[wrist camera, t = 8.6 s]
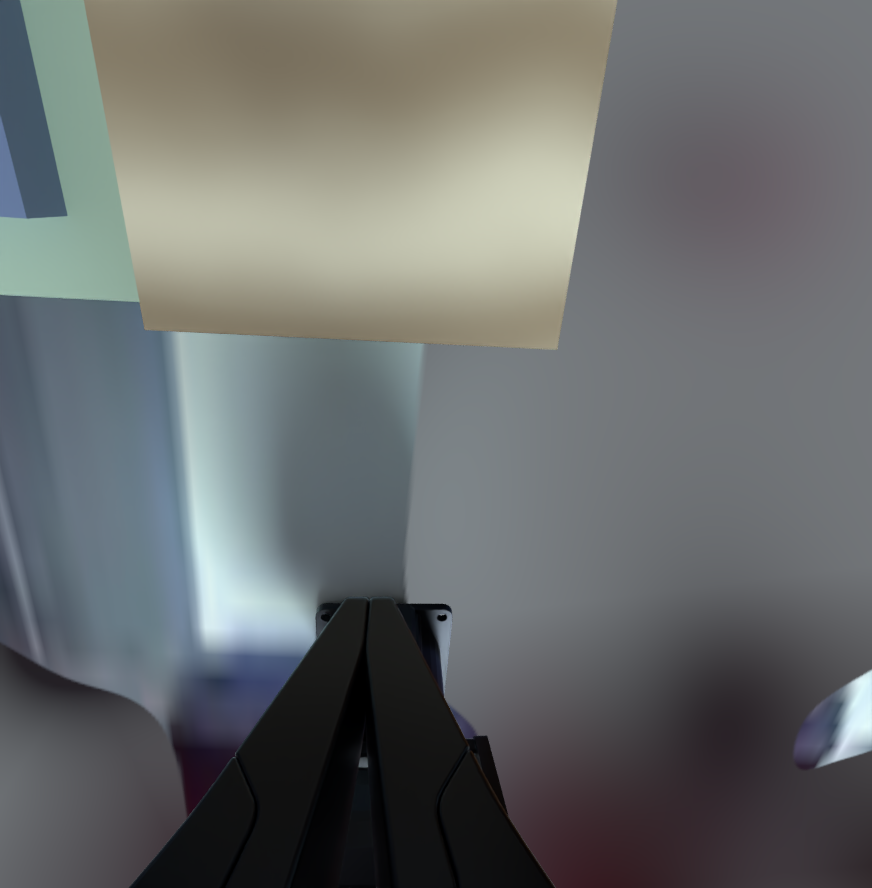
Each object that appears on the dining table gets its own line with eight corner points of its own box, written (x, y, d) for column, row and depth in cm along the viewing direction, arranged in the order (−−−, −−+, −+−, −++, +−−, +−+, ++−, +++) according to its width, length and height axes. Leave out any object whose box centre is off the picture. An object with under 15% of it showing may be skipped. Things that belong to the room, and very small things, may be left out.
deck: (527, 320, 19) (557, 349, 15) (195, 303, 18) (144, 329, 14) (598, -175, 13) (671, -311, 10) (120, -242, 12) (6, -420, 9)
